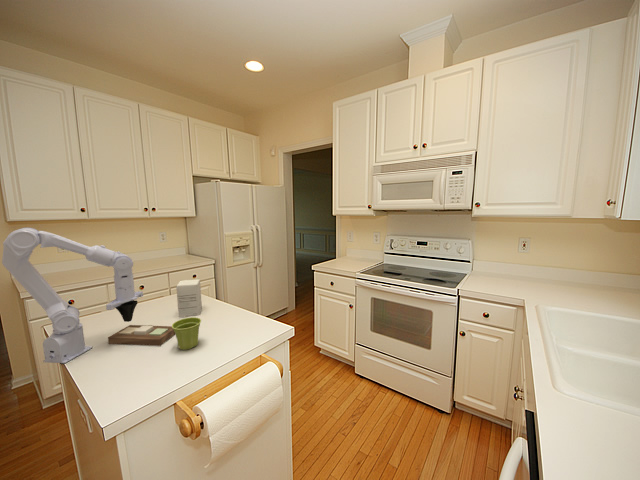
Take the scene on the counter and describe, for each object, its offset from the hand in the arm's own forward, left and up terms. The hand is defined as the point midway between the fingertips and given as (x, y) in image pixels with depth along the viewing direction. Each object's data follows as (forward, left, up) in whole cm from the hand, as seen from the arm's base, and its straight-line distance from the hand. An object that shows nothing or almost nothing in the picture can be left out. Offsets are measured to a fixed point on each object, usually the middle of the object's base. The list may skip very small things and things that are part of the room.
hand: (128, 320), depth 98 cm
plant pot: (-4, -26, -7) cm, 27 cm away
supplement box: (+24, -10, -7) cm, 27 cm away
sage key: (0, -12, -6) cm, 14 cm away
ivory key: (0, -6, -5) cm, 8 cm away
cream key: (0, 0, -6) cm, 6 cm away
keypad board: (0, -6, -7) cm, 9 cm away
